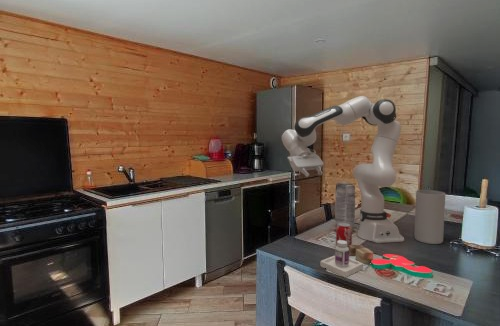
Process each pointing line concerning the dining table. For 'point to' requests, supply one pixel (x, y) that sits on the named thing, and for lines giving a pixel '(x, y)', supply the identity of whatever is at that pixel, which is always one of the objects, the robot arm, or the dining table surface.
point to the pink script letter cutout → (401, 265)
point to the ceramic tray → (342, 271)
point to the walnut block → (354, 249)
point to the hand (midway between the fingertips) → (314, 175)
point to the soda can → (344, 233)
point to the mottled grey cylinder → (345, 203)
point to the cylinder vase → (429, 216)
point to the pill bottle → (341, 254)
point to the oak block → (364, 255)
